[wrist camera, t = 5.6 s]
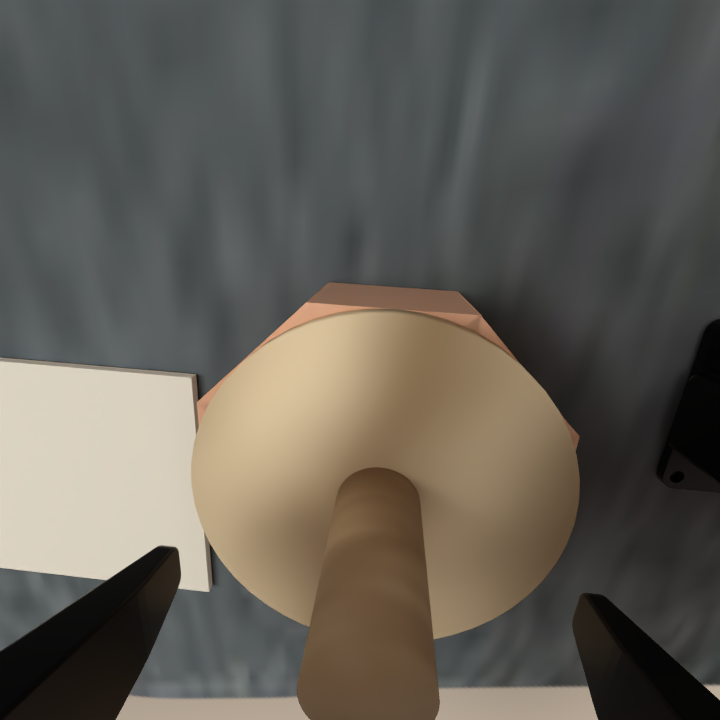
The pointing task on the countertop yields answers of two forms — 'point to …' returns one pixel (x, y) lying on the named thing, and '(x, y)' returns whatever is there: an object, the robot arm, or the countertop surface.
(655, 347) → the countertop surface
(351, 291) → the bowl
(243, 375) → the lid
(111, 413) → the mat
